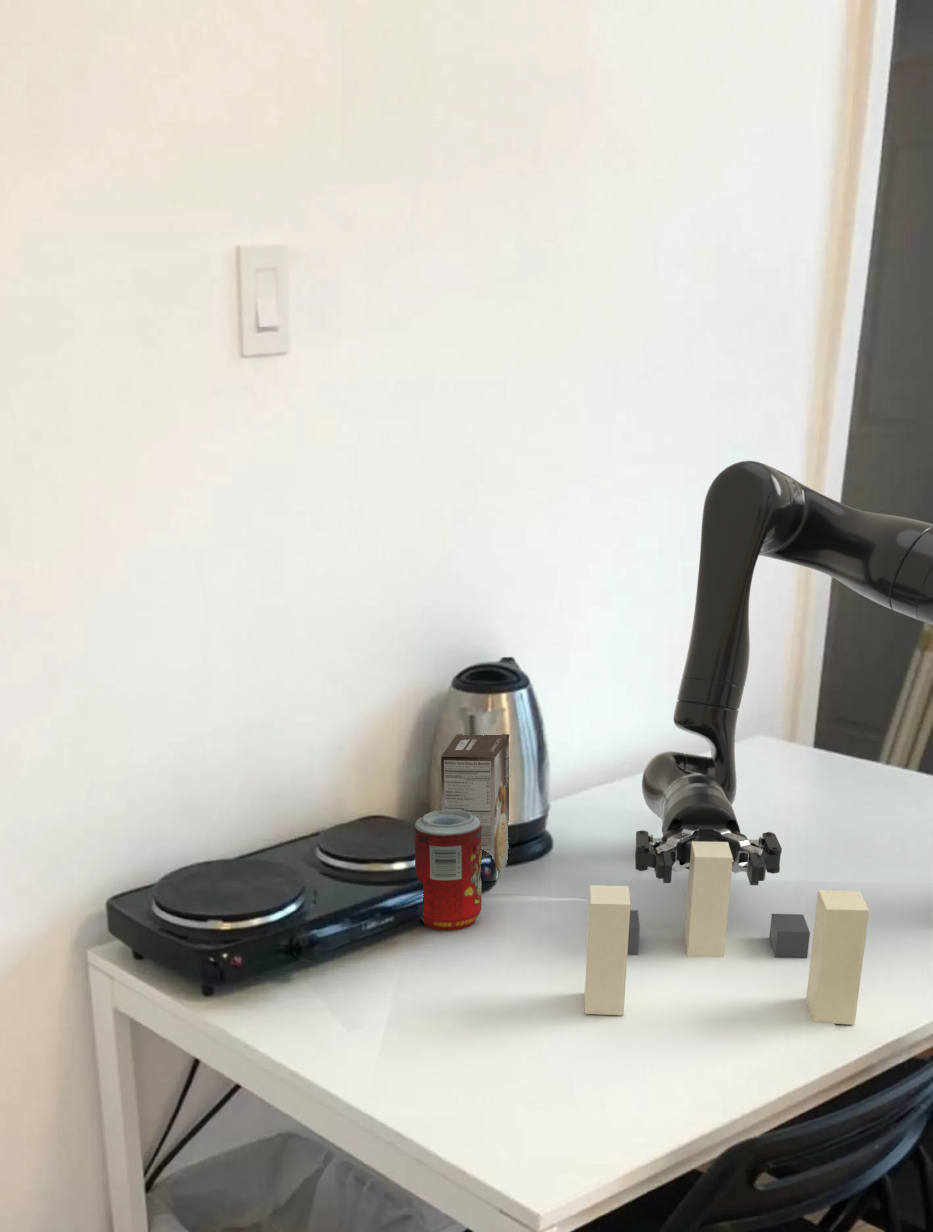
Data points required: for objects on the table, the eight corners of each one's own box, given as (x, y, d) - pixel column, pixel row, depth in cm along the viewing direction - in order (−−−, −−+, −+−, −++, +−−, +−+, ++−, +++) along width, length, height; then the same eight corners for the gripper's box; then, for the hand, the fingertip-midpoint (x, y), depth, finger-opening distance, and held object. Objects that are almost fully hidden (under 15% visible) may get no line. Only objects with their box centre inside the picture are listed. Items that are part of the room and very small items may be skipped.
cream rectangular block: (622, 994, 143) (628, 885, 138) (623, 1015, 138) (630, 904, 134) (584, 992, 144) (589, 885, 139) (584, 1014, 139) (590, 903, 135)
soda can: (487, 933, 159) (486, 824, 154) (420, 938, 159) (417, 830, 154) (476, 909, 165) (475, 803, 160) (412, 913, 166) (409, 808, 161)
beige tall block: (845, 1002, 138) (859, 890, 134) (854, 1025, 134) (869, 910, 129) (805, 1001, 139) (818, 890, 135) (813, 1023, 134) (826, 909, 130)
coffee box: (456, 860, 181) (455, 732, 174) (509, 863, 179) (510, 733, 172) (441, 888, 173) (439, 754, 167) (496, 891, 171) (497, 756, 164)
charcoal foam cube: (799, 946, 151) (803, 914, 150) (806, 965, 147) (810, 932, 145) (768, 945, 152) (771, 913, 150) (774, 964, 147) (777, 931, 146)
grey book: (635, 941, 155) (637, 910, 153) (637, 959, 150) (639, 927, 149) (605, 940, 155) (607, 909, 154) (606, 958, 151) (608, 926, 150)
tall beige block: (719, 944, 153) (728, 841, 149) (723, 962, 148) (732, 857, 144) (683, 943, 154) (691, 841, 149) (686, 961, 149) (695, 856, 145)
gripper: (632, 791, 161) (638, 837, 146) (773, 792, 157) (793, 839, 143) (628, 857, 163) (633, 909, 149) (766, 860, 160) (785, 912, 146)
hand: (711, 874), depth 146 cm, fingers open, 7 cm apart
